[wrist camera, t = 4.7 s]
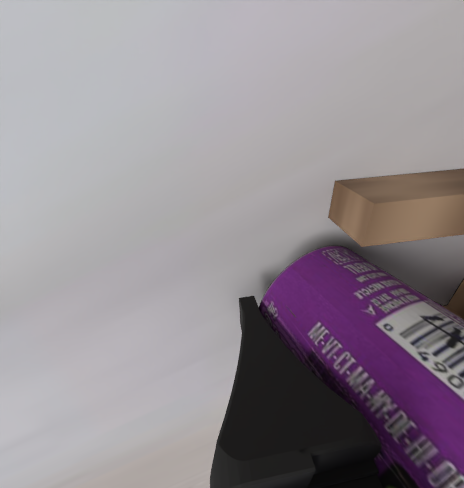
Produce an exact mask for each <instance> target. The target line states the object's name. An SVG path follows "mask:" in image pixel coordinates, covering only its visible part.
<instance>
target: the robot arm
mask: <svg viewBox="0 0 464 488" xmlns="http://www.w3.org/2000/svg"><path fill="white" fill-rule="evenodd" d="M239 307H240V324H241V329H242V339H241V347H240V354H239V360H238V366H237V371H236V375H235V380H234V384H233V389H232V393H231V396H230V400H229V403H228V407H227V411H226V414H225V418H224V421H223V424H222V427H221V430H220V433H219V436H218V439H217V444H216V449H215V454H214V459H213V464H212V469H211V475H210V488H383V486H382V484H381V482H380V480H379V478H378V475H377V474H379V471H378V469H377V467H376V465H375V463H374V461H373V459H374V458H375V457H376V456H377V454H378V453H379V452H380V450H381V447H382V445H381V443H380V441H379V439H378V437H377V435H376V433H375V432H374V430H373V429H372V427H371V426H370V424H369V423H368V421H367V420H366V418H365V417H364V416H363V414H362V413H361V412H359V411H358V410H357V409H355V408H354V407H353V406H351V405H350V404H349V403H347V402H346V401H345V400H344V399H342V398H341V397H340V396H339V395H337V394H336V393H335V392H334V391H333V390H331V389H330V388H329V387H328V386H327V385H325V384H324V383H323V382H322V381H321V380H320V379H319V378H318V377H317V376H315V375H314V374H313V373H312V372H311V371H310V370H309V369H308V368H307V367H306V366H305V365H304V364H303V363H302V362H301V361H300V360H299V359H298V358H297V357H296V356H295V355H294V354H293V353H292V352H291V351H290V350H289V348H288V347H287V346H286V345H285V344H284V343H283V342H282V340H281V339H280V338H279V337H278V335H277V334H276V333H275V332H274V330H273V329H272V328H271V326H270V325H269V324H268V322H267V321H266V319H265V318H264V317H263V315H262V313H261V312H260V310H259V308H258V305H257V302H256V300H255V298H254V296H250V297H243V298H239Z"/></svg>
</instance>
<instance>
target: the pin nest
mask: <svg viewBox="0 0 464 488" xmlns="http://www.w3.org/2000/svg"><path fill="white" fill-rule="evenodd" d="M328 218H330V219H331V220H332V221H333V222H334V223H335V224H336V225H338V226H339V227H340V228H341V229H342V230H343V231H344V232H345V233H347V234H348V235H349V236H350V237H351V238H352V239H353V240H355V241H356V242H357V243H358V244H359V245H360V246H361V247H364V246H373V245H381V244H389V243H397V242H405V241H414V240H422V239H430V238H438V237H447V236H455V235H463V234H464V169H456V170H446V171H435V172H425V173H414V174H403V175H393V176H382V177H371V178H361V179H350V180H340V181H335V185H334V190H333V195H332V201H331V206H330V211H329V216H328ZM442 307H444V308H445V309H447V310H449V311H450V312H452V313H454V314H455V315H457V316H458V317H460V318H462V319H463V320H464V280H463V281H462V283H461V284H460V286H459V288H458V289H457V291H456V292H455V294H454V296H453V297H452V299H451V300H450V302H449V304H448V305H446V306H442Z"/></svg>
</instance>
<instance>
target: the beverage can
mask: <svg viewBox="0 0 464 488" xmlns="http://www.w3.org/2000/svg"><path fill="white" fill-rule="evenodd" d="M259 310H260V312H261V313H262V315H263V317H264V318H265V319H266V321H267V322H268V324H269V325H270V326H271V328H272V329H273V330H274V332H275V333H276V334H277V335H278V337H279V338H280V339H281V340H282V342H283V343H284V344H285V345H286V346H287V347H288V348H289V350H290V351H291V352H292V353H293V354H294V355H295V356H296V357H297V358H298V359H299V360H300V361H301V362H302V363H303V364H304V365H305V366H306V367H307V368H308V369H309V370H310V371H311V372H312V373H313V374H314V375H315V376H317V377H318V378H319V379H320V380H321V381H322V382H323V383H324V384H325V385H327V386H328V387H329V388H330V389H331V390H333V391H334V392H335V393H336V394H337V395H339V396H340V397H341V398H342V399H344V400H345V401H346V402H347V403H349V404H350V405H351V406H353V407H354V408H355V409H357V410H358V411H359V412H361V413H362V414H363V416H364V417H365V418H366V420H367V421H368V423H369V424H370V426H371V427H372V429H373V430H374V432H375V433H376V435H377V437H378V439H379V441H380V443H381V445H382V447H381V450H380V452H379V453H378V454H377V456H376V457H375V458H374V459H373V461H374V463H375V465H376V467H377V469H378V471H379V474H377V475H378V478H379V480H380V482H381V484H382V486H383V488H464V320H463V319H462V318H460V317H458V316H457V315H455V314H454V313H452V312H450V311H449V310H447V309H445V308H444V307H442V306H441V305H439V304H437V303H436V302H434V301H433V300H431V299H429V298H428V297H426V296H424V295H423V294H421V293H420V292H418V291H416V290H415V289H413V288H411V287H410V286H408V285H407V284H405V283H403V282H402V281H400V280H399V279H397V278H395V277H394V276H392V275H390V274H389V273H387V272H386V271H384V270H382V269H381V268H379V267H377V266H376V265H374V264H373V263H371V262H369V261H368V260H366V259H364V258H363V257H361V256H360V255H358V254H356V253H355V252H353V251H352V250H350V249H348V248H346V247H342V246H327V247H323V248H319V249H316V250H314V251H312V252H309V253H307V254H306V255H304V256H302V257H300V258H299V259H297V260H296V261H294V262H293V263H292V264H291V265H289V266H288V267H287V268H286V269H285V270H284V271H283V272H282V273H281V274H280V275H279V276H278V277H277V278H276V279H275V280H274V281H273V283H272V284H271V285H270V287H269V288H268V290H267V291H266V293H265V295H264V297H263V299H262V301H261V303H260V306H259Z"/></svg>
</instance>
